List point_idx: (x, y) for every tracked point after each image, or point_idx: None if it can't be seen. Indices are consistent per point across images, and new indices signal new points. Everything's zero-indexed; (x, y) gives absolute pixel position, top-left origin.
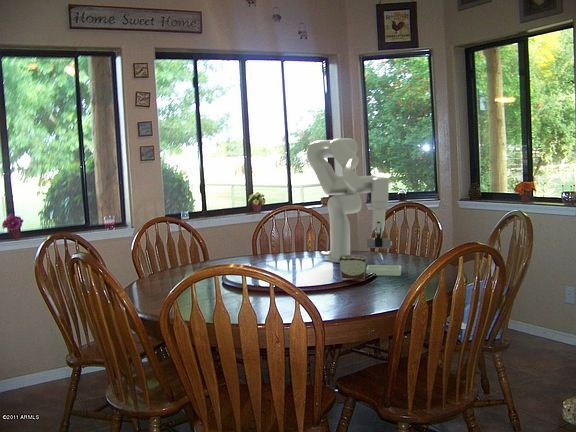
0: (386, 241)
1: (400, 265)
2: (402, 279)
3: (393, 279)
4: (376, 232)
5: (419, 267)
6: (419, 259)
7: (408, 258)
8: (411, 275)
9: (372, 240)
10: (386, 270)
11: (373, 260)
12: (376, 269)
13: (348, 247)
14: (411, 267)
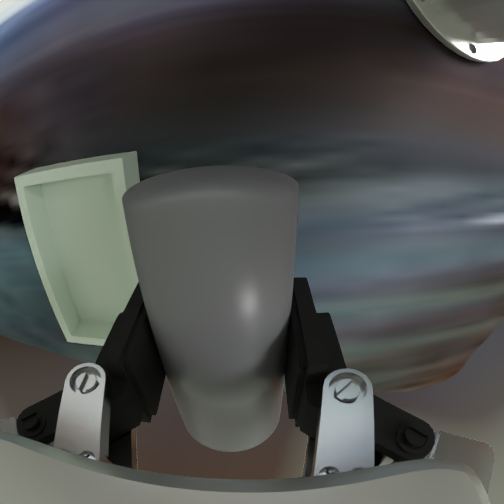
0: (180, 412)
1: None
2: (29, 324)
3: (15, 295)
4: (60, 449)
5: None
6: (433, 361)
7: (463, 325)
8: None
9: (144, 292)
10: (45, 282)
11: (466, 173)
12: (28, 235)
13: (500, 14)
14: None
